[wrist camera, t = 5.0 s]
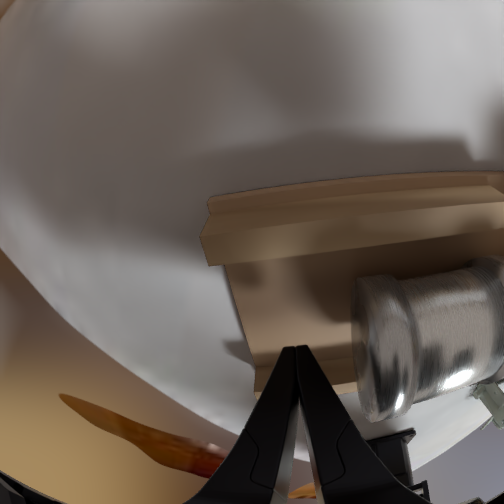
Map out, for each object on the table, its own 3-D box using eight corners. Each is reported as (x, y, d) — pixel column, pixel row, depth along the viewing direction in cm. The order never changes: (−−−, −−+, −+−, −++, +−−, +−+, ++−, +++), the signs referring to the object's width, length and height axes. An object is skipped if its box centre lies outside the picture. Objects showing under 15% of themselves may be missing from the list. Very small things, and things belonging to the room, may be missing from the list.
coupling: (456, 319, 11) (494, 398, 7) (347, 342, 12) (365, 441, 8) (482, 230, 8) (553, 311, 4) (351, 248, 9) (396, 370, 5)
